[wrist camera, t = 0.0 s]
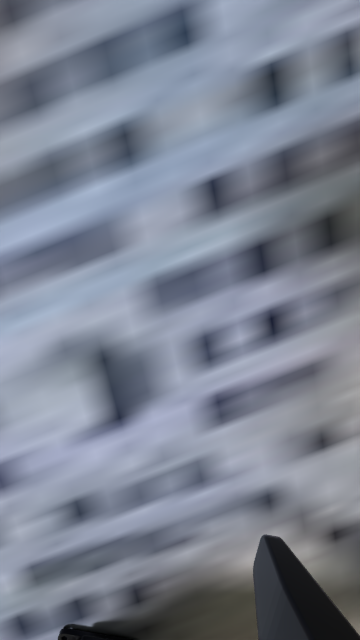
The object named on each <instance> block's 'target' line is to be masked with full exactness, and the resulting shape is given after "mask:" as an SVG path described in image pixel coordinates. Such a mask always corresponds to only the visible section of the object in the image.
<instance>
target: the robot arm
mask: <svg viewBox="0 0 360 640" xmlns="http://www.w3.org/2000/svg"><path fill="white" fill-rule="evenodd" d="M253 578H254V590H255V602H256V614H257V626H258V638H259V640H360V636H359V634H358V633H357V632H356V631H355V629H354V628H353V627H352V626H351V624H350V623H349V622H348V621H347V619H346V618H345V617H344V616H343V614H342V613H341V612H340V611H339V609H338V608H337V607H336V606H335V604H334V603H333V602H332V601H331V599H330V598H329V597H328V596H327V594H326V593H325V592H324V591H323V589H322V588H321V587H320V586H319V584H318V583H317V582H316V581H315V579H314V578H313V577H312V576H311V574H310V573H309V572H308V571H307V569H306V568H305V567H304V566H303V564H302V563H301V562H300V561H299V559H298V558H297V557H296V556H295V555H294V553H293V552H292V551H291V550H290V548H289V547H288V546H287V545H286V543H285V542H284V541H283V540H282V539H281V538H280V537H277V536H271V535H263V536H262V537H261V539H260V543H259V546H258V550H257V553H256V557H255V561H254V566H253ZM58 640H132V639H126V638H120V637H114V636H108V635H103V634H97V633H91V632H85V631H79V630H74V629H68V628H64V629H62V630H61V631H60V634H59V636H58Z"/></svg>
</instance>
